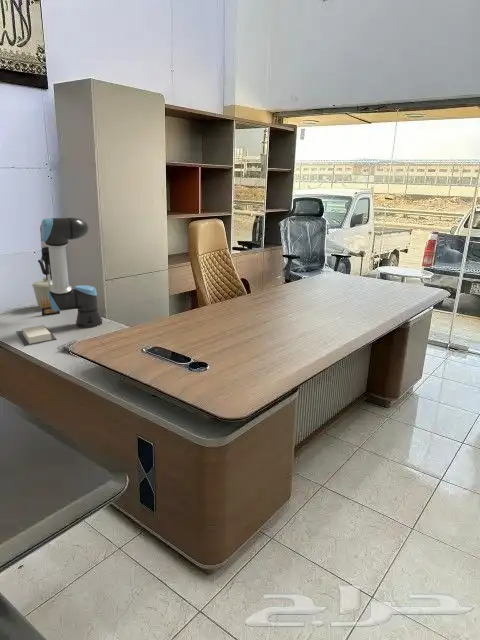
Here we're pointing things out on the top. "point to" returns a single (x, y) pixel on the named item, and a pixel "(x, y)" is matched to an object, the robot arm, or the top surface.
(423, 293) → the top surface
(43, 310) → the ammunition clip
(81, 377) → the top surface
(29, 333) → the book
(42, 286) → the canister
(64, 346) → the graphics card
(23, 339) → the desk pad
